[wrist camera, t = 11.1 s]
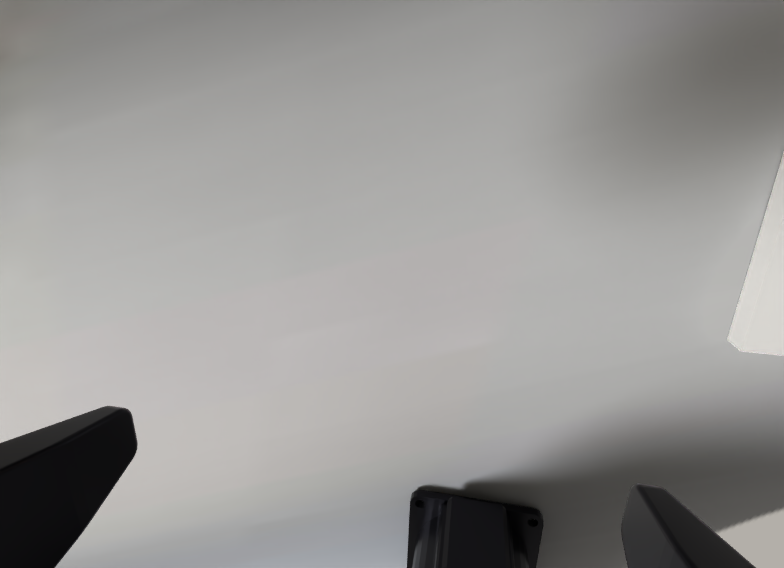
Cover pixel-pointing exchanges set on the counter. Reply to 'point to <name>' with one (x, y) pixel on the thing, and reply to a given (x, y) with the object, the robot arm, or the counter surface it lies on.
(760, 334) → the socket board
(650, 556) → the robot arm
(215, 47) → the counter surface
